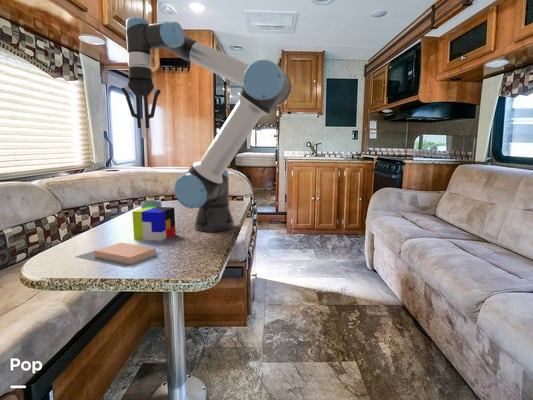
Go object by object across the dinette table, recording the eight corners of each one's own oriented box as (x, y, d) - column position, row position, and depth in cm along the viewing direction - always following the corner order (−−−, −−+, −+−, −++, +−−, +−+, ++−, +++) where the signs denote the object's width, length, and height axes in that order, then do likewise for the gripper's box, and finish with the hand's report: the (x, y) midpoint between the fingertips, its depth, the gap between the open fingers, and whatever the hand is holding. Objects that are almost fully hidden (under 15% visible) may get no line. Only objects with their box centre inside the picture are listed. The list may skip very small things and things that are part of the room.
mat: (74, 258, 93) (74, 256, 93) (114, 246, 104) (114, 244, 104) (125, 269, 84) (125, 267, 84) (162, 254, 96) (162, 253, 96)
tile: (94, 250, 92) (130, 257, 86) (121, 242, 100) (155, 248, 94) (94, 257, 92) (130, 264, 86) (121, 248, 100) (156, 255, 94)
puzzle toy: (161, 242, 109) (159, 212, 108) (134, 240, 111) (132, 211, 110) (175, 234, 119) (174, 207, 118) (150, 233, 121) (148, 206, 120)
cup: (142, 224, 135) (141, 200, 134) (162, 223, 138) (161, 199, 136) (141, 229, 128) (140, 203, 126) (162, 227, 130) (161, 202, 129)
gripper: (159, 72, 119) (163, 138, 123) (120, 69, 115) (125, 138, 118) (160, 67, 112) (163, 137, 116) (118, 64, 108) (123, 137, 111)
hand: (144, 137), depth 117 cm, fingers closed
